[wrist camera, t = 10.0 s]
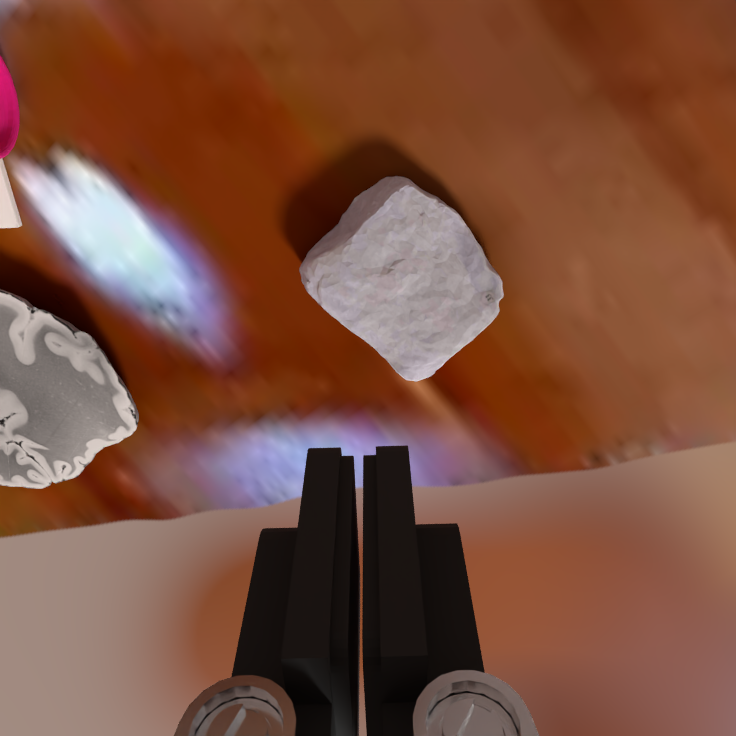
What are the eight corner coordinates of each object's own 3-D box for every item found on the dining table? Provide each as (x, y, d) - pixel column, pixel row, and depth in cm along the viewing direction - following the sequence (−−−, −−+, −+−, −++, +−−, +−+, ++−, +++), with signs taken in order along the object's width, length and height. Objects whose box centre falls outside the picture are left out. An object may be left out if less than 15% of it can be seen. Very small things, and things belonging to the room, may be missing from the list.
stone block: (390, 151, 41) (286, 267, 43) (407, 157, 37) (290, 287, 38) (508, 272, 46) (409, 373, 47) (536, 291, 41) (426, 401, 43)
